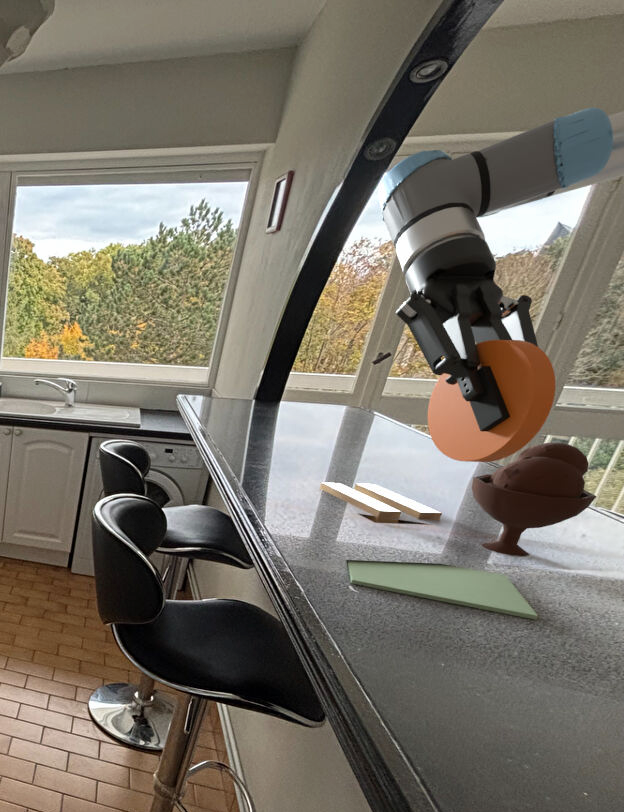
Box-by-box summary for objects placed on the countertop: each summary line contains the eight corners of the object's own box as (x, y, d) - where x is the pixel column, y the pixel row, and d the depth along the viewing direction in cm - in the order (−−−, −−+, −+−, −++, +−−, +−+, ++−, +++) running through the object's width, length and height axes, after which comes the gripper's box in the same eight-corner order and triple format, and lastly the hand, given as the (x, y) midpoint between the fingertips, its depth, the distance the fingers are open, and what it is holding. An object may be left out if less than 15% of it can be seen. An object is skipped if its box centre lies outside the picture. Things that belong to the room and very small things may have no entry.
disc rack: (370, 498, 100) (375, 484, 99) (437, 529, 87) (443, 513, 86) (315, 496, 101) (320, 482, 100) (373, 527, 87) (378, 510, 86)
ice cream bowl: (451, 533, 85) (491, 430, 80) (562, 555, 78) (614, 444, 72) (443, 553, 78) (486, 441, 73) (563, 579, 71) (622, 458, 65)
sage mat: (503, 578, 71) (505, 574, 71) (536, 620, 62) (538, 616, 61) (343, 550, 79) (344, 546, 79) (351, 583, 69) (352, 579, 69)
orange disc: (429, 446, 73) (470, 335, 68) (522, 476, 61) (579, 345, 56) (412, 445, 73) (452, 335, 68) (501, 475, 61) (556, 345, 56)
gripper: (484, 285, 74) (552, 445, 65) (357, 284, 75) (406, 441, 66) (540, 233, 67) (625, 404, 58) (400, 233, 68) (461, 401, 59)
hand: (508, 424), depth 62 cm, fingers closed on orange disc, 2 cm apart
